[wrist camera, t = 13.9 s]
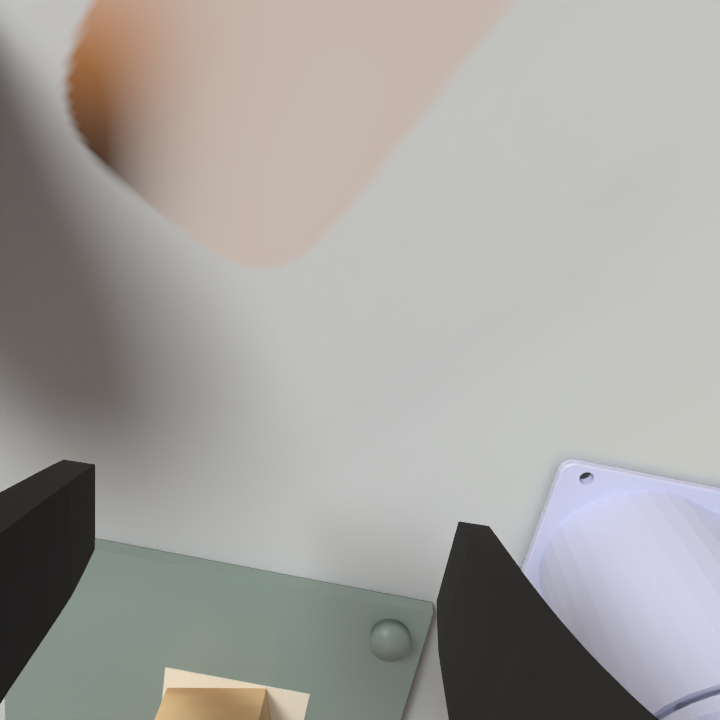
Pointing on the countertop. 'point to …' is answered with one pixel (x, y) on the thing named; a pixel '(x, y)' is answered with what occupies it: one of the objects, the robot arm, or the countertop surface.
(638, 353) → the countertop surface
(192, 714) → the honey-wood brick
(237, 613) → the baseplate
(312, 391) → the countertop surface
